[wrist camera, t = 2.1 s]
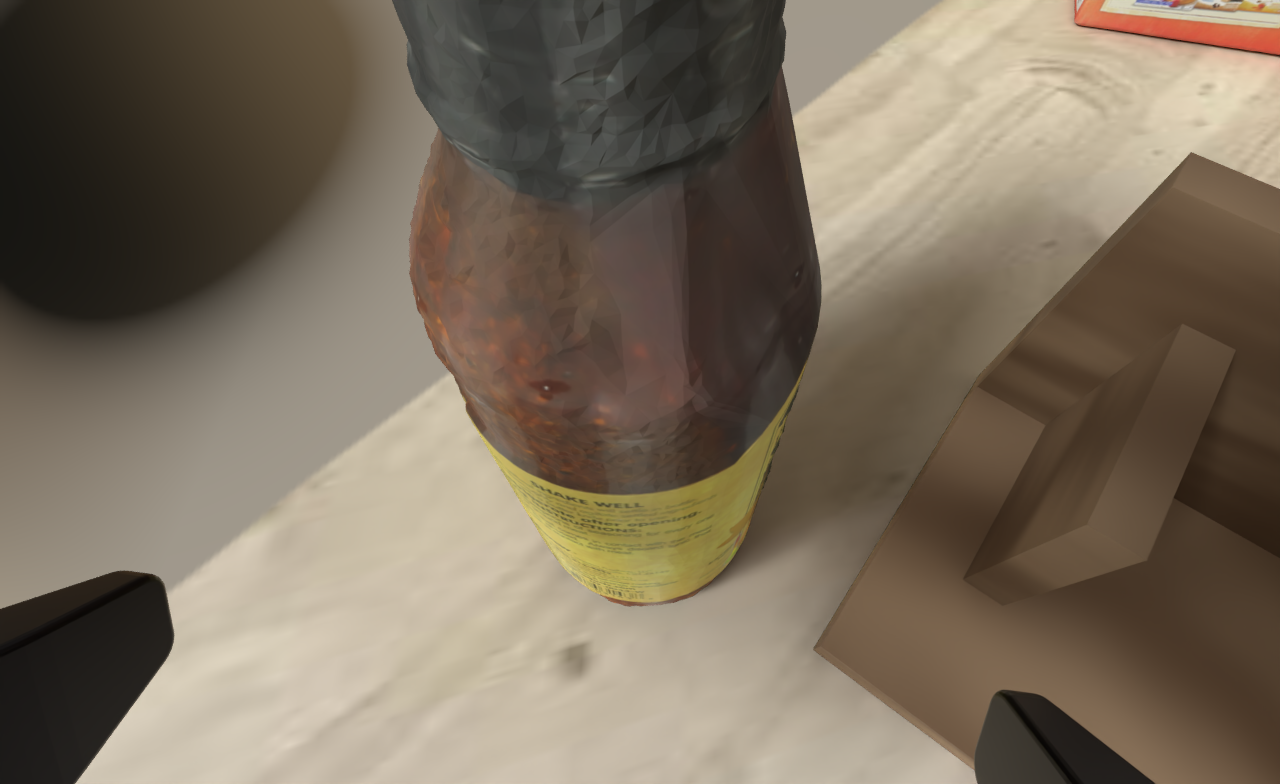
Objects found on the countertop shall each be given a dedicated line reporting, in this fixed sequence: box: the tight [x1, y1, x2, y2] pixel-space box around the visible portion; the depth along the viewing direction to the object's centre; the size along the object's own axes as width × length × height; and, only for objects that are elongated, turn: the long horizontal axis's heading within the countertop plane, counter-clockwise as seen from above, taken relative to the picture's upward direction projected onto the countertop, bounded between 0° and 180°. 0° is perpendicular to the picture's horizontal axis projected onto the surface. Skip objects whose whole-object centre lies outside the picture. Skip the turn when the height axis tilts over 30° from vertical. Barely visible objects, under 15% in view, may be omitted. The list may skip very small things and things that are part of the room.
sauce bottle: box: [392, 0, 821, 606], centre depth 12 cm, size 7×6×20 cm
